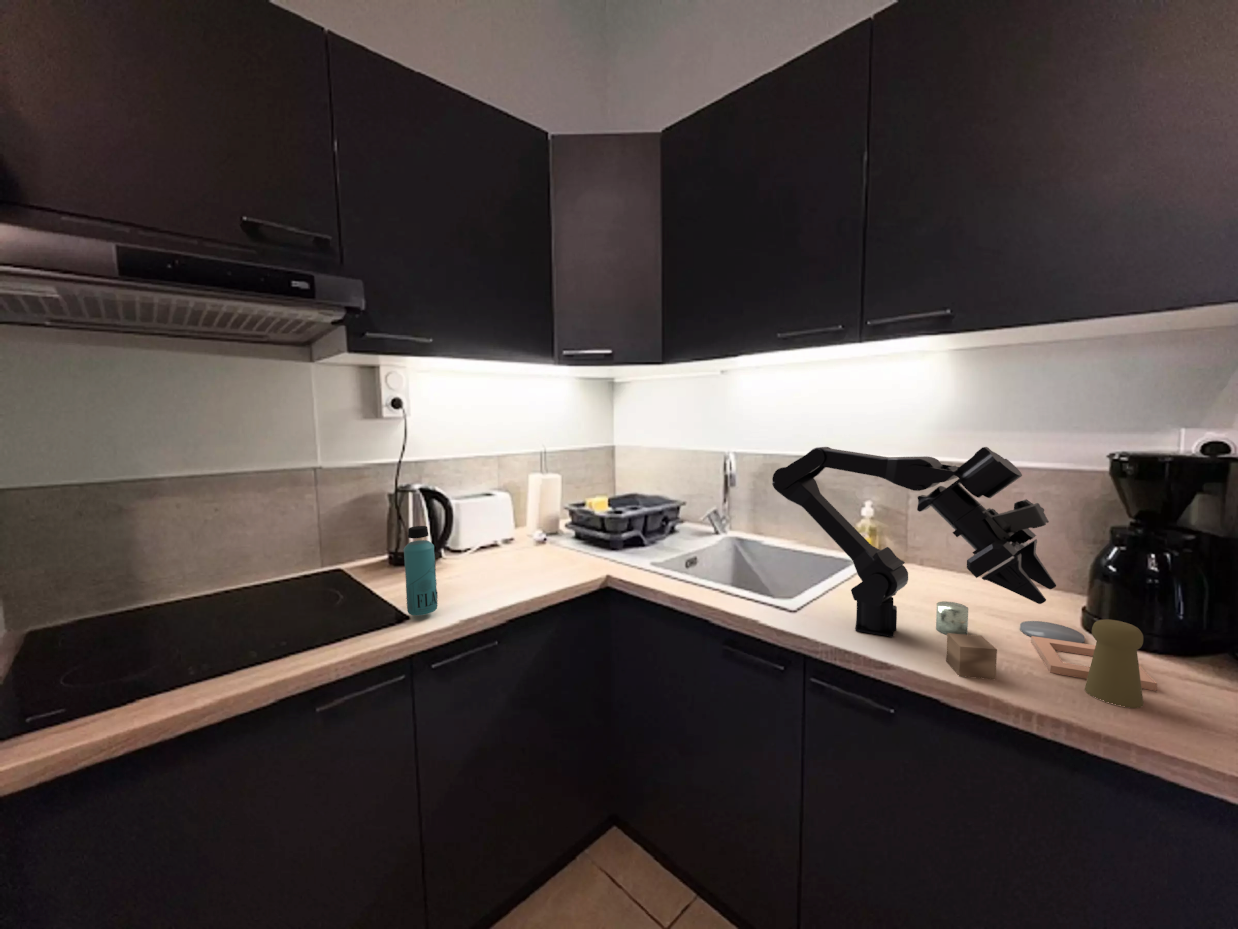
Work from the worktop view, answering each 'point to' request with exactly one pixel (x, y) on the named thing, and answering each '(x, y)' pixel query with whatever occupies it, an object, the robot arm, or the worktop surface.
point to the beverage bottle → (420, 573)
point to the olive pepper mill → (1116, 664)
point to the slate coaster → (1051, 631)
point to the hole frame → (1057, 666)
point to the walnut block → (971, 656)
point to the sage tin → (951, 618)
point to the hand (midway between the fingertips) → (1048, 594)
